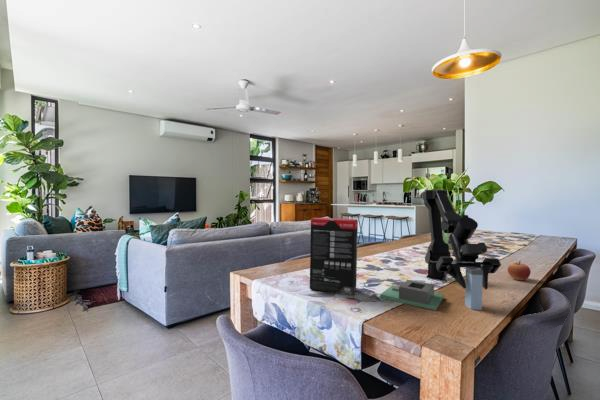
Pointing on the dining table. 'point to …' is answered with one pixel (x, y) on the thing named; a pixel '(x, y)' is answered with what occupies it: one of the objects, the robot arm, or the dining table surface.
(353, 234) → the graphics card box
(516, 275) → the apple
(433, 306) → the header board
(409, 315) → the dining table surface
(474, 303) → the light blue tall block
